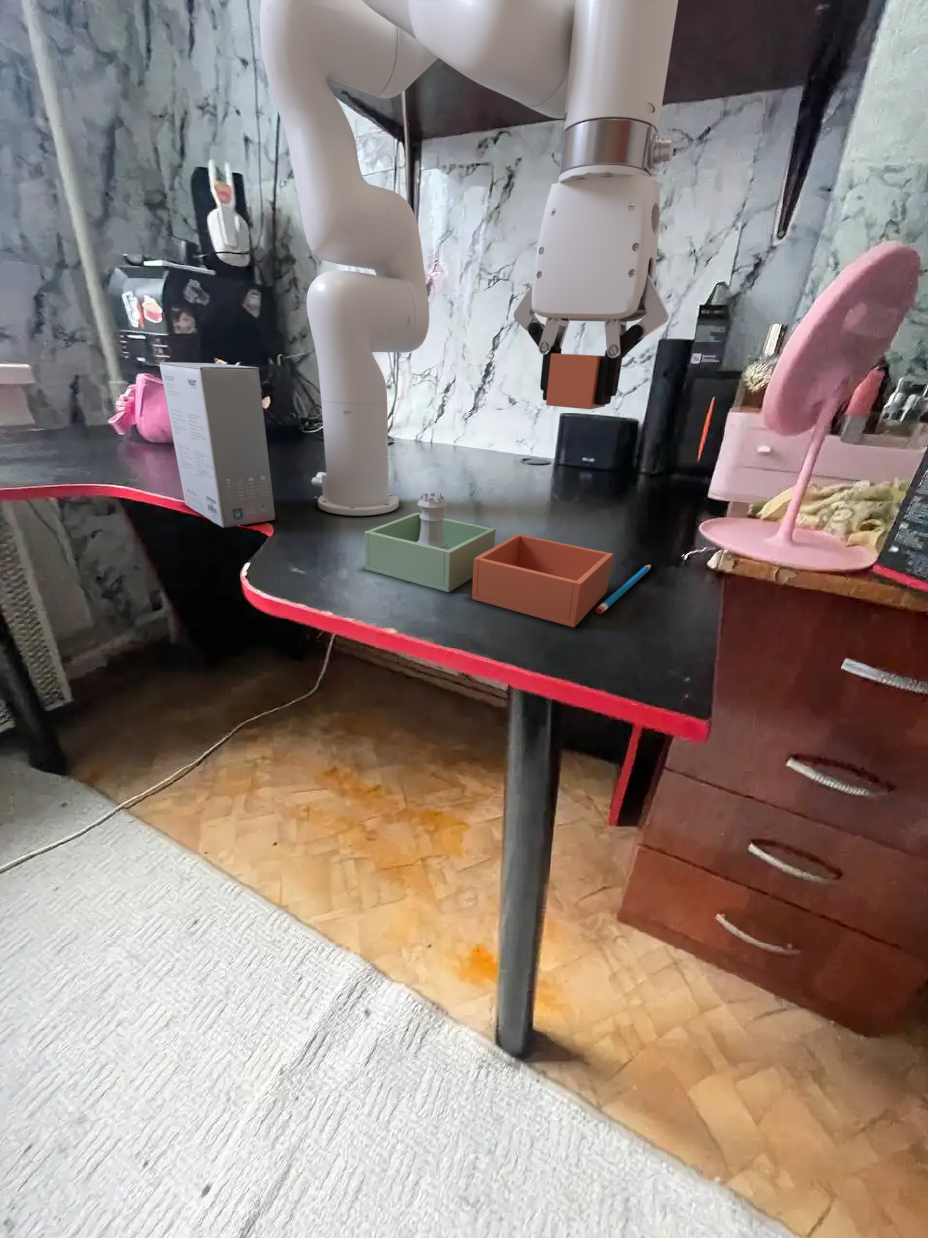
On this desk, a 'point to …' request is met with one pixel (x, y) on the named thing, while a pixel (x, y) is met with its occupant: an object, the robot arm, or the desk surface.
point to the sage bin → (427, 552)
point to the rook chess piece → (432, 520)
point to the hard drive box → (220, 440)
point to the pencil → (622, 590)
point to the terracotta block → (573, 381)
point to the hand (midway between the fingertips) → (576, 399)
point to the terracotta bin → (542, 578)
